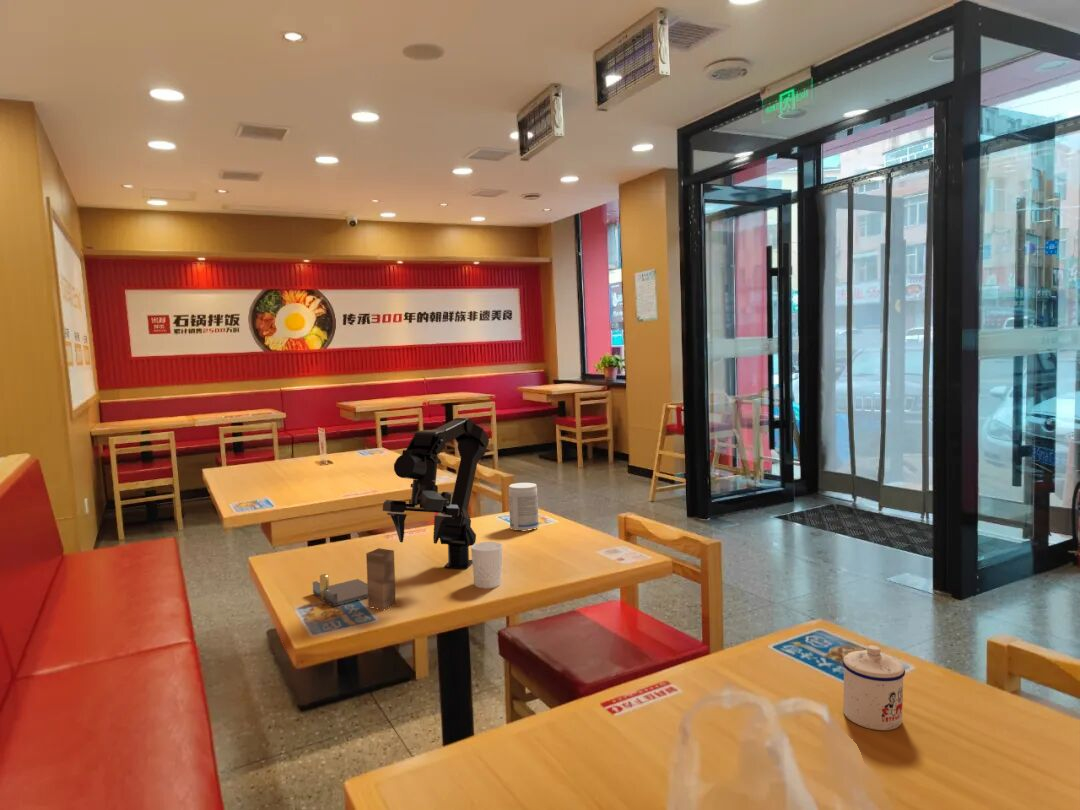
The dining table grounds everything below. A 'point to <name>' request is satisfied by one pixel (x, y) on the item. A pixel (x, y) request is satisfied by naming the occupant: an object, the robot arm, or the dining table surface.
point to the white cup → (487, 564)
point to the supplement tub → (523, 506)
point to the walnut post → (381, 578)
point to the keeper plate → (340, 590)
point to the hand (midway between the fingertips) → (418, 542)
